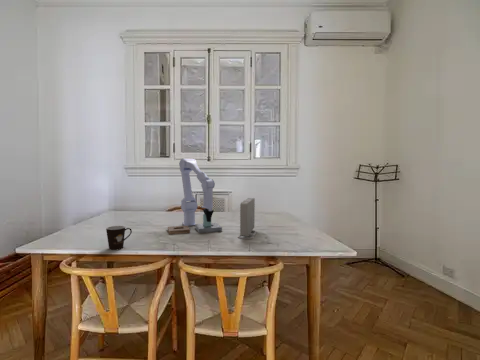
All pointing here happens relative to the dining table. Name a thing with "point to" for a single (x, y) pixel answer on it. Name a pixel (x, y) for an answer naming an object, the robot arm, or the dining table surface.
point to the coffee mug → (116, 236)
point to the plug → (205, 221)
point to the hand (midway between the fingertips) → (208, 221)
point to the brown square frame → (178, 229)
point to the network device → (247, 218)
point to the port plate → (208, 228)
